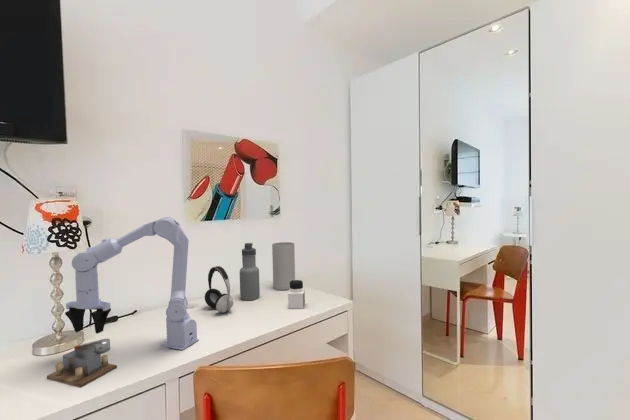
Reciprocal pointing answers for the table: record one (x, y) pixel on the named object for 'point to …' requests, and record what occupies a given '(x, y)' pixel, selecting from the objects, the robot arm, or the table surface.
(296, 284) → the medicine bottle
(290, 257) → the cylinder vase
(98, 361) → the steel bar
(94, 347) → the silver lever knob
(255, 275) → the water bottle
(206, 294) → the headphones
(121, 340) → the table surface
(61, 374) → the walnut board
